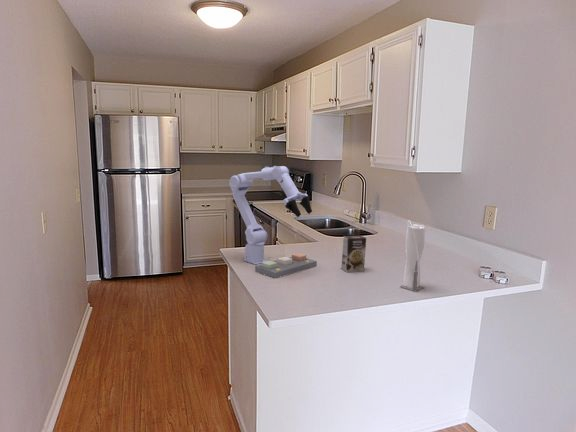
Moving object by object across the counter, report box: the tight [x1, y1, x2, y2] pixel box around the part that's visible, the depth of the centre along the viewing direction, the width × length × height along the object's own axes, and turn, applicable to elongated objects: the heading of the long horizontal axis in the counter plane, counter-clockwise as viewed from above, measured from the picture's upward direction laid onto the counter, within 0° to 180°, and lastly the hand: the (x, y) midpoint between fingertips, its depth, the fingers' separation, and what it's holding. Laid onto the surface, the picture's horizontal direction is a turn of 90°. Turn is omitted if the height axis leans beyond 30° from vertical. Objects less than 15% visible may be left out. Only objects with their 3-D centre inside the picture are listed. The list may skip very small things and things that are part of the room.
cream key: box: [276, 256, 292, 266], centre depth 189 cm, size 5×5×3 cm
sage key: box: [260, 260, 277, 270], centre depth 182 cm, size 5×5×3 cm
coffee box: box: [341, 235, 367, 273], centre depth 188 cm, size 9×6×16 cm
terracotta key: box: [291, 252, 307, 262], centre depth 196 cm, size 5×5×3 cm
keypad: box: [254, 256, 318, 279], centre depth 188 cm, size 13×28×3 cm, turn 136°
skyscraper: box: [399, 219, 426, 293], centre depth 166 cm, size 8×8×28 cm
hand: (304, 214), depth 178 cm, fingers open, 7 cm apart
